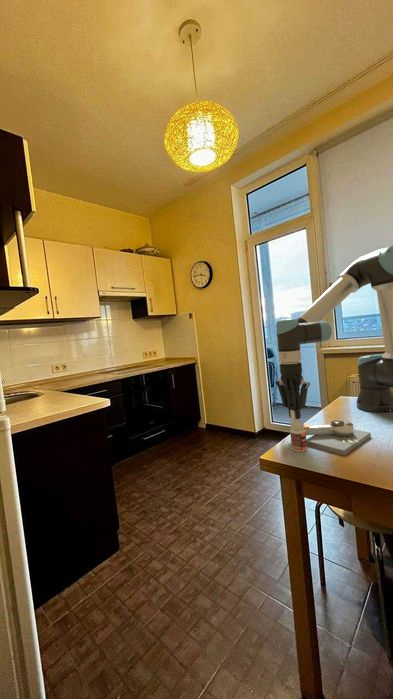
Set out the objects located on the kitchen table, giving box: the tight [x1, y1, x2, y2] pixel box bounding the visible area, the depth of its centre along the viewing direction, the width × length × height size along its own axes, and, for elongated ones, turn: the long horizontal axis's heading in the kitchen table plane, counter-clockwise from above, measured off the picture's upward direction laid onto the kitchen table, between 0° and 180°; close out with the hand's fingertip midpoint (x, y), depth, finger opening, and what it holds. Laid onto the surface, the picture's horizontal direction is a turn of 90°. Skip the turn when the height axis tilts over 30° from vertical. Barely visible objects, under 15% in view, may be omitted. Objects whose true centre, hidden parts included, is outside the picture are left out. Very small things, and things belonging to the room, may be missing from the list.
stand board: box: [306, 428, 372, 456], centre depth 96 cm, size 18×14×2 cm
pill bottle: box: [289, 421, 308, 453], centre depth 93 cm, size 5×5×8 cm
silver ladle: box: [304, 419, 354, 437], centre depth 99 cm, size 16×7×4 cm, turn 82°
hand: (295, 427), depth 104 cm, fingers closed
